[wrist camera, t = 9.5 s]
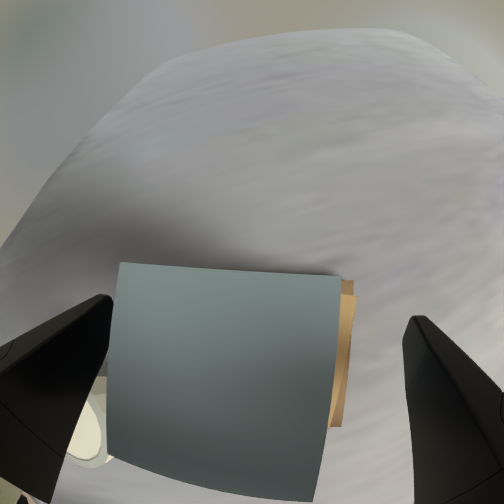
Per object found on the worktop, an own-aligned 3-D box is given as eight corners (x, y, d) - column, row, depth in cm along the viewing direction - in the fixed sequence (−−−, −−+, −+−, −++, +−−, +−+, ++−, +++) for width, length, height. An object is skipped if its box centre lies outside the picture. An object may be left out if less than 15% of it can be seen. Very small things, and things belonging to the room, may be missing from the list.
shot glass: (84, 400, 21) (30, 409, 14) (119, 353, 22) (62, 354, 15) (132, 456, 19) (84, 483, 12) (175, 413, 20) (128, 438, 13)
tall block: (308, 398, 15) (312, 502, 4) (222, 388, 16) (106, 453, 5) (317, 312, 16) (341, 276, 6) (230, 306, 17) (120, 262, 6)
